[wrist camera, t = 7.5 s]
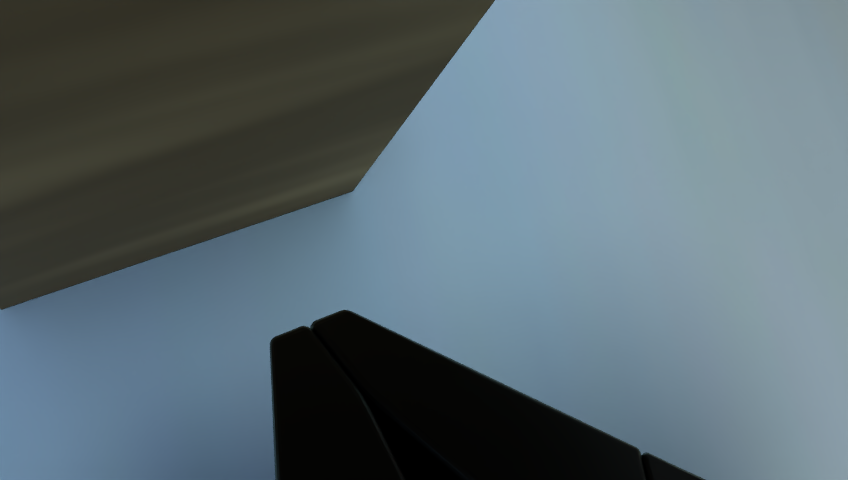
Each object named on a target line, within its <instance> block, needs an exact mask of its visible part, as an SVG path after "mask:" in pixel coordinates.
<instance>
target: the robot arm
mask: <svg viewBox="0 0 848 480" xmlns="http://www.w3.org/2000/svg"><path fill="white" fill-rule="evenodd" d="M270 361H271V385H272V409H273V433H274V456H275V480H705V479H703V478H701V477H698V476H696V475H694V474H692V473H689V472H687V471H685V470H683V469H681V468H679V467H677V466H675V465H672V464H670V463H668V462H666V461H664V460H662V459H660V458H658V457H656V456H654V455H652V454H649V453H644V454H642V456H641V453H640V451H639V449H638V448H636V447H634V446H632V445H630V444H628V443H626V442H624V441H622V440H619V439H617V438H615V437H613V436H611V435H609V434H607V433H605V432H603V431H601V430H599V429H596V428H594V427H592V426H590V425H588V424H586V423H584V422H582V421H580V420H578V419H576V418H573V417H571V416H569V415H567V414H565V413H563V412H561V411H559V410H557V409H555V408H553V407H550V406H548V405H546V404H544V403H542V402H540V401H538V400H536V399H534V398H532V397H530V396H527V395H525V394H523V393H521V392H519V391H517V390H515V389H513V388H511V387H509V386H507V385H504V384H502V383H500V382H498V381H496V380H494V379H492V378H490V377H488V376H486V375H484V374H481V373H479V372H477V371H475V370H473V369H471V368H469V367H467V366H465V365H463V364H461V363H458V362H456V361H454V360H452V359H450V358H448V357H446V356H444V355H442V354H440V353H438V352H435V351H433V350H431V349H429V348H427V347H425V346H423V345H421V344H419V343H417V342H415V341H412V340H410V339H408V338H406V337H404V336H402V335H400V334H398V333H396V332H394V331H392V330H389V329H387V328H385V327H383V326H381V325H379V324H377V323H375V322H373V321H371V320H369V319H366V318H364V317H362V316H360V315H358V314H356V313H354V312H352V311H348V310H342V311H339V312H336V313H334V314H331V315H329V316H326V317H324V318H321V319H318V320H316V321H314V322H313V323H312V325H311V326H310V328H309V327H307V326H301V327H298V328H296V329H293V330H291V331H288V332H286V333H283V334H281V335H278V336H276V337H274V338H273V339H272V340H271V342H270Z"/></svg>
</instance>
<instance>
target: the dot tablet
mask: <svg viewBox="0 0 848 480" xmlns="http://www.w3.org/2000/svg"><path fill="white" fill-rule="evenodd" d="M494 1H495V0H0V309H5V308H8V307H11V306H14V305H17V304H20V303H23V302H26V301H28V300H31V299H34V298H37V297H40V296H43V295H46V294H49V293H52V292H55V291H58V290H61V289H64V288H67V287H70V286H73V285H76V284H79V283H82V282H85V281H88V280H91V279H94V278H97V277H100V276H103V275H106V274H109V273H112V272H115V271H117V270H120V269H123V268H126V267H129V266H132V265H135V264H138V263H141V262H144V261H147V260H150V259H153V258H156V257H159V256H162V255H165V254H168V253H171V252H174V251H177V250H180V249H183V248H186V247H189V246H192V245H195V244H198V243H201V242H204V241H207V240H209V239H212V238H215V237H218V236H221V235H224V234H227V233H230V232H233V231H236V230H239V229H242V228H245V227H248V226H251V225H254V224H257V223H260V222H263V221H266V220H269V219H272V218H275V217H278V216H281V215H284V214H287V213H290V212H293V211H296V210H298V209H301V208H304V207H307V206H310V205H313V204H316V203H319V202H322V201H325V200H328V199H331V198H334V197H337V196H340V195H343V194H346V193H349V192H352V191H353V190H354V189H355V187H356V186H357V185H358V183H359V182H360V181H361V179H362V178H363V177H364V175H365V174H366V173H367V171H368V170H369V169H370V167H371V166H372V165H373V163H374V162H375V161H376V159H377V158H378V157H379V155H380V154H381V153H382V151H383V150H384V148H385V147H386V146H387V144H388V143H389V142H390V140H391V139H392V138H393V136H394V135H395V134H396V132H397V131H398V130H399V128H400V127H401V126H402V124H403V123H404V122H405V120H406V119H407V118H408V116H409V115H410V114H411V112H412V111H413V110H414V108H415V107H416V106H417V104H418V103H419V101H420V100H421V99H422V97H423V96H424V95H425V93H426V92H427V91H428V89H429V88H430V87H431V85H432V84H433V83H434V81H435V80H436V79H437V77H438V76H439V75H440V73H441V72H442V71H443V69H444V68H445V67H446V65H447V64H448V63H449V61H450V60H451V59H452V57H453V56H454V55H455V53H456V52H457V50H458V49H459V48H460V46H461V45H462V44H463V42H464V41H465V40H466V38H467V37H468V36H469V34H470V33H471V32H472V30H473V29H474V28H475V26H476V25H477V24H478V22H479V21H480V20H481V18H482V17H483V16H484V14H485V13H486V12H487V10H488V9H489V8H490V6H491V5H492V4H493V2H494Z"/></svg>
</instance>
